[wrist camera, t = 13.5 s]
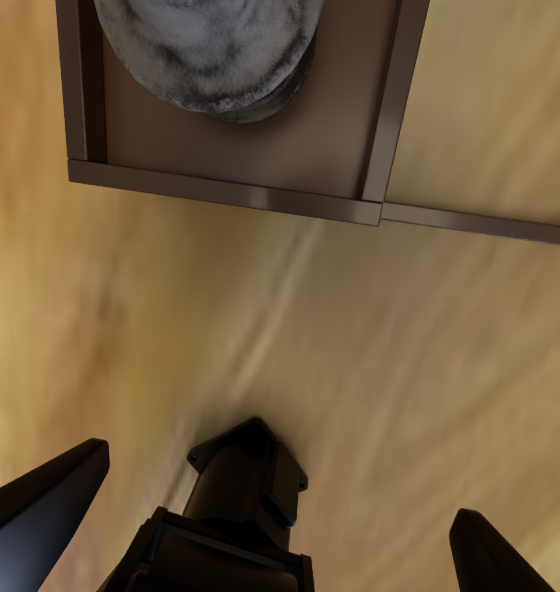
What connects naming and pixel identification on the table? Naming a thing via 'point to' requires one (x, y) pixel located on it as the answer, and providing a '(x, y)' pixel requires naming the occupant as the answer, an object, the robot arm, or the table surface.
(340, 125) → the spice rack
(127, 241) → the table surface
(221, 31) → the grey rounded piece
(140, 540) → the robot arm
